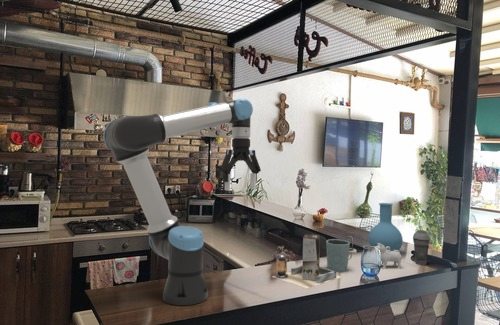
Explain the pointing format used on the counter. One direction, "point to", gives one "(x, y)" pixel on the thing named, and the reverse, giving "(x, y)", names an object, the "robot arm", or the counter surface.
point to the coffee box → (311, 257)
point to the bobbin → (281, 265)
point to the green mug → (337, 254)
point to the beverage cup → (421, 246)
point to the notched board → (296, 279)
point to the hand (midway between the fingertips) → (240, 189)
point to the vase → (386, 230)
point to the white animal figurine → (389, 256)
